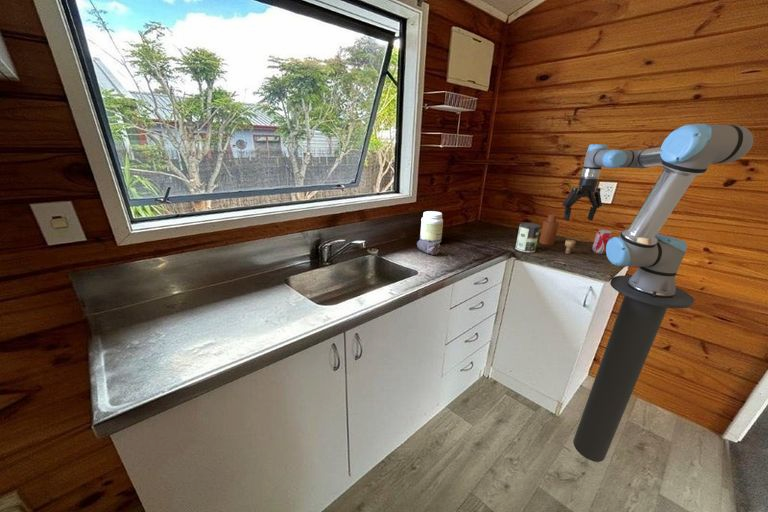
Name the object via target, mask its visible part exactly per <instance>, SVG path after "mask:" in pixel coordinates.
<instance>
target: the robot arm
mask: <svg viewBox="0 0 768 512" xmlns="http://www.w3.org/2000/svg"><path fill="white" fill-rule="evenodd" d="M753 145H754V134H753V133H752V131H751V130H749V129H748V128H746V127H744V126H741V125H738V124H711V123H693V124H692V123H691V124H685V125H682V126H680V127H678V128H676V129H674V130H673V131H672V132H670V133H669V134H668V135H667V136H666V138H665V139H664V141H663V142H662V144H661V146H655V147H649V148H644V149H633V150H632V149H612V148H611V149H610V148H609V149H608V145H607V144H604V143H603V144H599V143H591V144H589V146H588V148H587V151H586V152H585V158H584V162H583V167H582V171H581V174H580V178H579V182H578V187H575V186H573V187H572V188H571V190H570V192H569V193H568V195H567V197H566V198H565V199H564V201H563V202H562V204H561V206H562V207H564V212H563V213H564V216H563V220H564V221H566V222H569V221H570V217H571V212H572V210H573V209H572V207H573V205H575V204H576V203H577V202H578V201H579V200H580V199H582V198H588V200H589V202H590V204H591V206H590V209H589V211H588V214H587V218H586V219H587V220H588V221H593V220H594V218H595V217H594V216H595V214H596V213H597V210H598V209H599V208H600V207H603V204H602V196H601V190H602V188H601V187H597V185H598V182H599V178H600V175H601V171H602V168H603V167H604V168H607V169H617V168H621V169H622V168H623V169H625V168H626V169H627V168H628V169H649V168H651V167H658V166H662V171H661V173H660V175H659V177H658V178H657V180H656V181H655V183H654V185H653V187H652V189H651V190H650V192H649V194H648V195H647V197H646V198H645V201H644V202H643V204H642V205H641V207H640V209H639V211H638V212H637V214H636V215H635V217H634V219H633V220H632V222H631V224H630V226H628V227H626V228H624V229H622V230H621V232H620V233H619V235H618V236H612V238H611V239H610V240H609V241H608V242H607V245H606V253H605V254H606V257H607V260H608V261H609V262H610V263H611V264H612V265H613V266H617V267H624V268H626V267H627V268H628V267H634V268H636V267H637V268H638V269H637V270H636V271H635V272H634V273H633V274H632V275H631V276H632V277H631V278H630V279H629V281H628V286H629V287H631V288H632V289H634V290H636V291H638V292H641V293H644V294H647V295H651V296H653V297H663V298H670V297H673V296H674V294H675V291H676V287H677V286H676V276H677V273H678V271H679V269H680V266H681V264H682V262H683V259H684V257H685V254H686V253H687V248H688V242H686V241H685V240H683V239H680V238H676V237H674V236H670V235H666V234H661V233H659V232H660V231H661V229H662V228H663V226H664V224H665V223H666V222H667V220H669V219H668V218H669V217H670V216H671V214H672V213H673V211H674V209H675V208H676V206H677V205H678V204H679V202H680V200H681V199H682V197H683V196H684V195H685V193H686V192H687V190H688V188H689V187H690V185H691V184H692V183H693V181H694V179H695V178H696V177H697V176H700V175H704V174H705V173H706V172H707V170H708V169H709V167H710V166H711V165H712V164H713V165H718V164H719V165H720V164H721V165H722V164H728V163H729V164H730V163H732V162H736V161H738V160H739V159H742V158H743V157H744V156H745V155H746V154H748V153H749V152H750V150H751V149H752V147H753Z"/></svg>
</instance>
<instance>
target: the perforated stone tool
mask: <svg viewBox="0 0 768 512" xmlns="http://www.w3.org/2000/svg"><path fill="white" fill-rule="evenodd" d="M416 246H417V248H418V249H419V250H420V252H421V251H422V252H423V253H425V254H428V255H429V254H430V255H431V256H435V255H438V254H440V253H441V244H440V243H436V242H434V241H431V240H426V239H421V240H420V239H418V240H417V242H416Z"/></svg>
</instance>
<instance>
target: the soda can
mask: <svg viewBox="0 0 768 512" xmlns="http://www.w3.org/2000/svg"><path fill="white" fill-rule="evenodd" d="M612 232H613V231H611V230H608V229H607V230H606V229H598V231H597V232H596V234H595V237H594V239H593V243H592V247H591V251H592V252H593V253H594V254H598V255H605V254H606V245H607V242H608V241H609V240H610V239H611V238H613V234H612Z"/></svg>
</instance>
